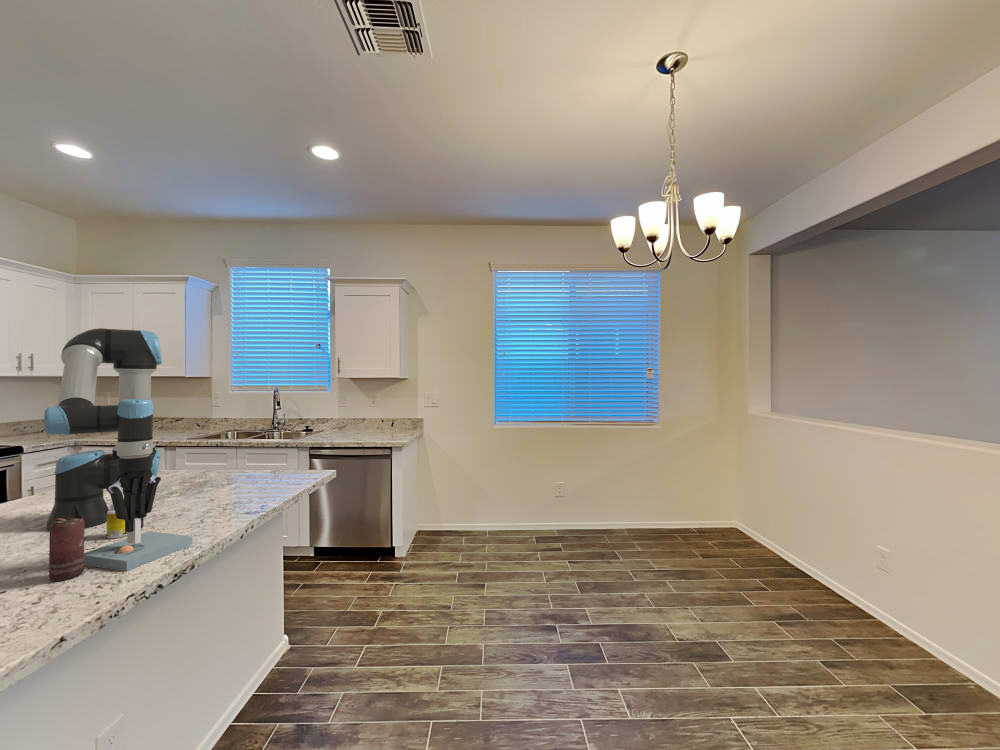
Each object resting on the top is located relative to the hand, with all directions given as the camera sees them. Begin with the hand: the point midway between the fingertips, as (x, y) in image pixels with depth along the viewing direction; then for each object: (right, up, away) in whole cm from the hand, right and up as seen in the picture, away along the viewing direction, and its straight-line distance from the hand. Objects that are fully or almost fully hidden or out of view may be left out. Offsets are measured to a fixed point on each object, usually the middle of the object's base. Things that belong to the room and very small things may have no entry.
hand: (134, 542), depth 121 cm
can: (-6, -4, -13) cm, 15 cm away
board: (0, -4, +1) cm, 4 cm away
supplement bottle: (-17, -4, +15) cm, 23 cm away
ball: (0, -2, -2) cm, 3 cm away
